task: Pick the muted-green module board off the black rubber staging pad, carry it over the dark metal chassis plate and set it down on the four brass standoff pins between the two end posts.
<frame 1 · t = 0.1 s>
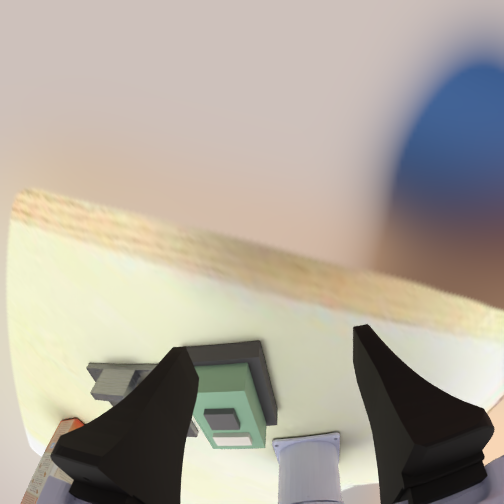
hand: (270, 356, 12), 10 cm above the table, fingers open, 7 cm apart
cracker box: (101, 443, 37), on the table
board: (230, 398, 25), point 2 cm above the table, touching pad
chassis: (144, 401, 30), on the table
pad: (233, 382, 27), on the table
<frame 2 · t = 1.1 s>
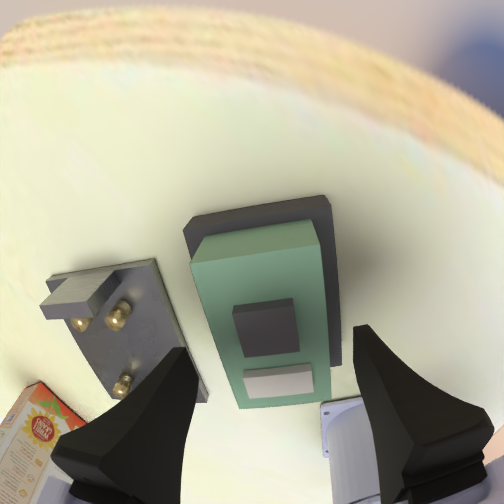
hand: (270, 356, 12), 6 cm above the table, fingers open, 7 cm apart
cracker box: (75, 422, 28), on the table
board: (273, 308, 16), point 2 cm above the table, touching pad
chassis: (128, 341, 20), on the table
pad: (273, 288, 18), on the table
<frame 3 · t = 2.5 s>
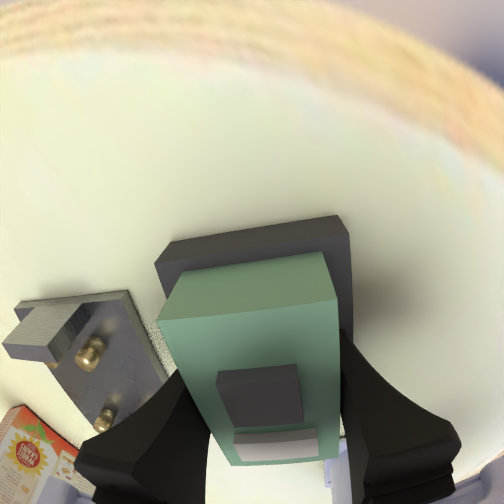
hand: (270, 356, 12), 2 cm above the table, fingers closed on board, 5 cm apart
cracker box: (62, 444, 24), on the table
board: (270, 356, 12), point 2 cm above the table, touching gripper, pad
chassis: (107, 375, 17), on the table
pad: (271, 327, 14), on the table
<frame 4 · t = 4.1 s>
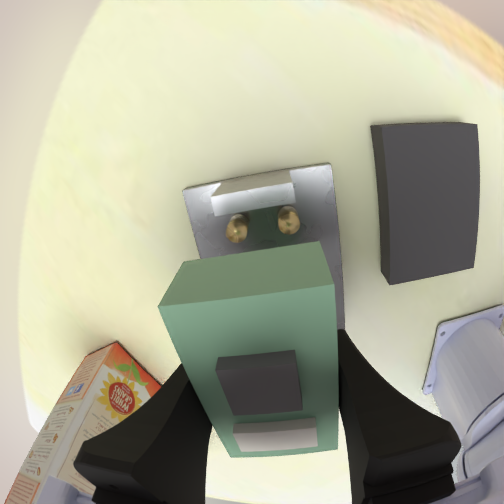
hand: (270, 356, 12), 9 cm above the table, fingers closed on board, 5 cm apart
cracker box: (147, 392, 28), on the table
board: (270, 346, 13), point 9 cm above the table, touching gripper
chassis: (272, 262, 21), on the table
pad: (424, 197, 18), on the table
when the fingers open (3 cm above the table, at t = 6.0 s): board stays where it is, resting on chassis.
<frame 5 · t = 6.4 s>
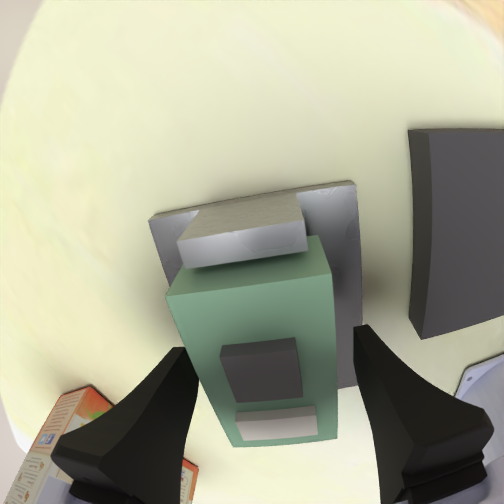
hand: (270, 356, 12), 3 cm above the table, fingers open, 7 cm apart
cracker box: (130, 434, 23), on the table
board: (271, 337, 13), point 2 cm above the table, touching chassis
chassis: (271, 310, 16), on the table
pad: (469, 225, 13), on the table
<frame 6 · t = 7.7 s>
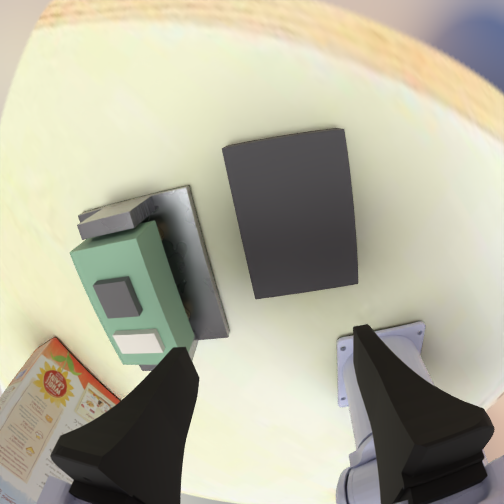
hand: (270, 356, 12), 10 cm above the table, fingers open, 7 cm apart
cracker box: (86, 383, 30), on the table
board: (143, 287, 20), point 2 cm above the table, touching chassis
chassis: (155, 274, 23), on the table
pad: (295, 211, 20), on the table
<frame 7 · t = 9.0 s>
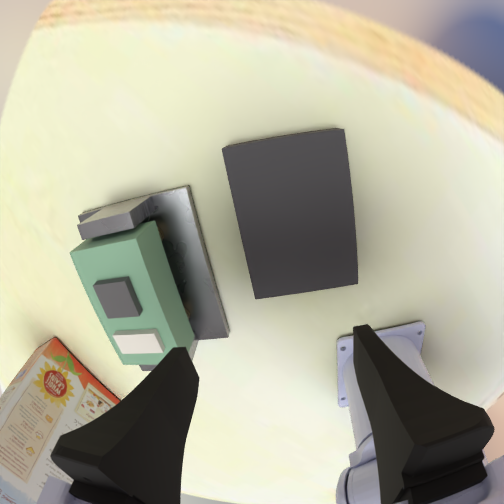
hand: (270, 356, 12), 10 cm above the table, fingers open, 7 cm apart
cracker box: (87, 383, 30), on the table
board: (143, 287, 20), point 2 cm above the table, touching chassis
chassis: (155, 274, 23), on the table
pad: (295, 211, 20), on the table
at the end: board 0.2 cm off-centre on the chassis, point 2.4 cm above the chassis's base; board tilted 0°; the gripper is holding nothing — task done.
